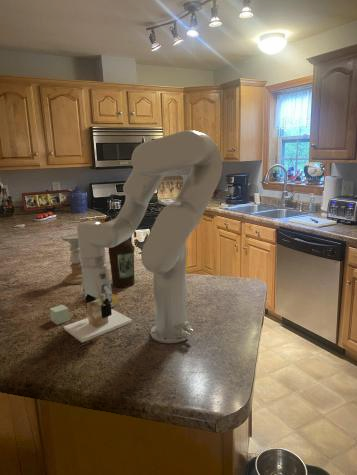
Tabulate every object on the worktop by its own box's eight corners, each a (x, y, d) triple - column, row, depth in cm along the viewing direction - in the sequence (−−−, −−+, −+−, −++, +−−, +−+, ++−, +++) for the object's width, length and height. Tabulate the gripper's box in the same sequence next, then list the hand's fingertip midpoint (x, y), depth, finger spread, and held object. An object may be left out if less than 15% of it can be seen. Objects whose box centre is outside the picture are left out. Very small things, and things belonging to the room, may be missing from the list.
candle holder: (58, 282, 156) (53, 238, 152) (77, 274, 167) (73, 232, 162) (78, 286, 150) (74, 240, 146) (97, 277, 161) (94, 234, 157)
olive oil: (107, 283, 153) (102, 227, 148) (129, 278, 159) (125, 223, 153) (117, 290, 144) (112, 230, 139) (140, 284, 150) (136, 227, 145)
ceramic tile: (132, 322, 115) (131, 319, 115) (82, 342, 103) (81, 339, 103) (112, 311, 124) (112, 309, 124) (63, 329, 112) (63, 326, 112)
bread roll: (116, 298, 136) (116, 289, 135) (118, 308, 127) (117, 297, 127) (95, 301, 134) (94, 291, 133) (94, 310, 126) (94, 300, 125)
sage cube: (69, 320, 118) (68, 308, 117) (56, 325, 115) (55, 312, 114) (63, 316, 121) (62, 304, 120) (51, 320, 118) (49, 308, 117)
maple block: (108, 322, 113) (106, 302, 112) (96, 327, 110) (94, 306, 109) (100, 318, 116) (99, 298, 115) (88, 323, 113) (86, 303, 112)
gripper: (119, 262, 105) (123, 315, 109) (90, 253, 117) (95, 301, 121) (96, 268, 100) (102, 324, 104) (69, 258, 112) (75, 308, 116)
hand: (98, 312), depth 112 cm, fingers open, 9 cm apart
